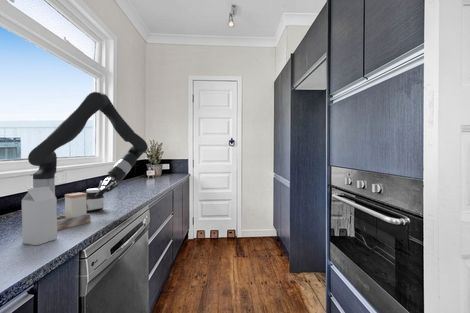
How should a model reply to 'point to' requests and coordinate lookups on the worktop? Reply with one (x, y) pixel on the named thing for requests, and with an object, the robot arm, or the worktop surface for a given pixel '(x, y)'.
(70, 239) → the worktop surface
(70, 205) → the pink-topped white box
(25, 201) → the milk carton
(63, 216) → the track
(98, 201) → the spread jar
